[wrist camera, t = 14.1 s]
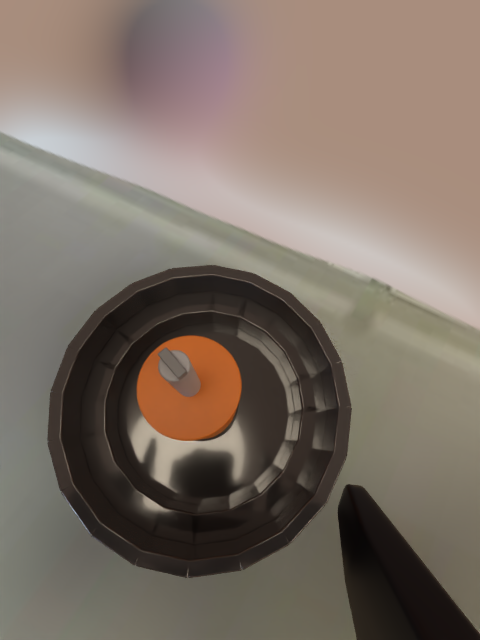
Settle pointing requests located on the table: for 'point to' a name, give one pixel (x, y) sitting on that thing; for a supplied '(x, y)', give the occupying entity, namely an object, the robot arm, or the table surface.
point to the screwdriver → (190, 389)
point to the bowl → (200, 456)
